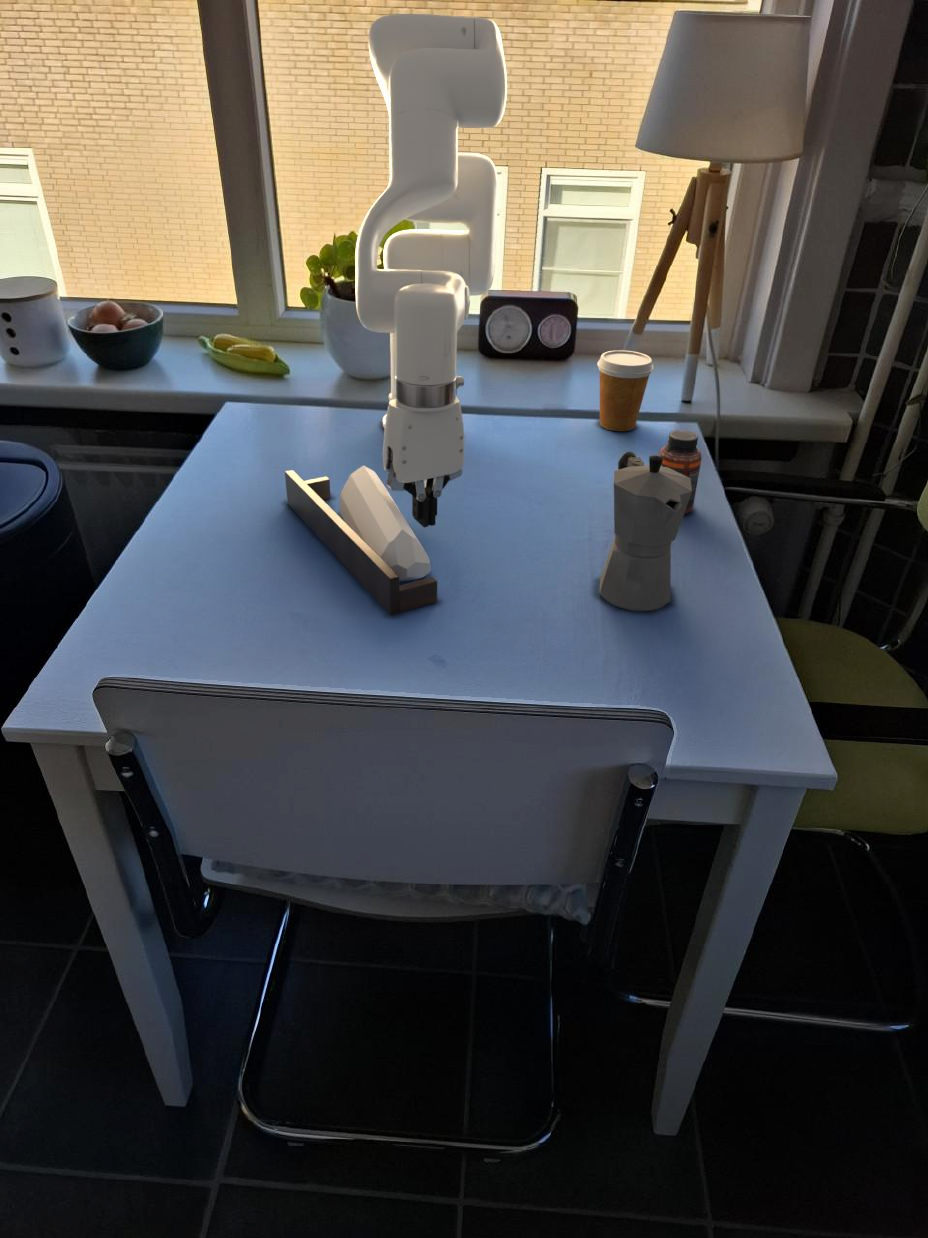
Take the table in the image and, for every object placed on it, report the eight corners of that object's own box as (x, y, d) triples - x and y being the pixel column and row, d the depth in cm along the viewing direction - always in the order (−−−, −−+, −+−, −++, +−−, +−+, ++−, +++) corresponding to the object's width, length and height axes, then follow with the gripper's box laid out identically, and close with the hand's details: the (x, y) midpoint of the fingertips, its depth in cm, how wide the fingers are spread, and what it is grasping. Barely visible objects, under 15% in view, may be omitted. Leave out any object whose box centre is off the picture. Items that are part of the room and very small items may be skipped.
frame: (287, 503, 126) (284, 471, 123) (327, 495, 128) (325, 463, 126) (390, 615, 102) (390, 578, 99) (437, 602, 105) (437, 566, 102)
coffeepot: (692, 617, 104) (722, 477, 94) (618, 625, 102) (640, 483, 92) (642, 554, 116) (663, 425, 106) (574, 560, 114) (590, 429, 104)
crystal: (451, 555, 107) (398, 475, 125) (401, 535, 103) (355, 456, 122) (421, 604, 109) (374, 519, 128) (372, 586, 105) (331, 502, 124)
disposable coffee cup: (592, 413, 160) (600, 347, 154) (645, 418, 159) (655, 352, 152) (588, 431, 153) (596, 363, 146) (643, 437, 151) (653, 368, 145)
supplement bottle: (694, 503, 130) (708, 430, 124) (689, 520, 125) (703, 445, 119) (654, 496, 131) (666, 424, 125) (648, 512, 127) (659, 438, 121)
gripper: (462, 373, 115) (458, 500, 125) (358, 389, 108) (362, 522, 119) (492, 391, 109) (485, 522, 120) (384, 409, 103) (387, 546, 113)
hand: (424, 522), depth 119 cm, fingers closed
